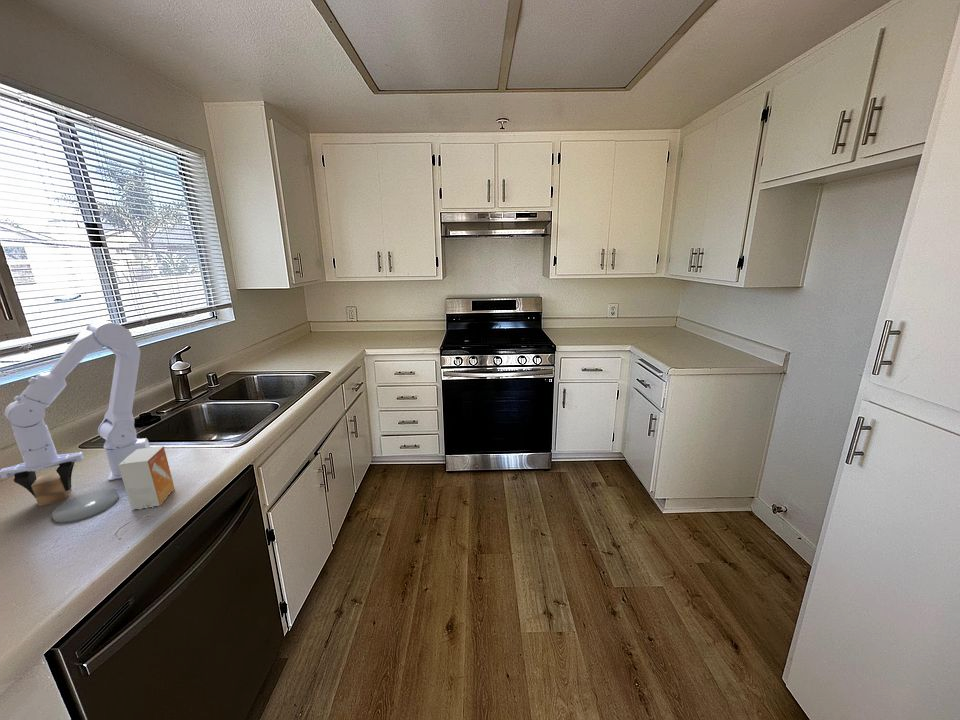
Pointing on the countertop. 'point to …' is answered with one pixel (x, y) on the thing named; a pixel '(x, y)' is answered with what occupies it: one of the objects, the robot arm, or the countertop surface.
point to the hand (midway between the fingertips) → (53, 492)
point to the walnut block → (49, 489)
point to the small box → (146, 477)
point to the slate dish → (85, 505)
